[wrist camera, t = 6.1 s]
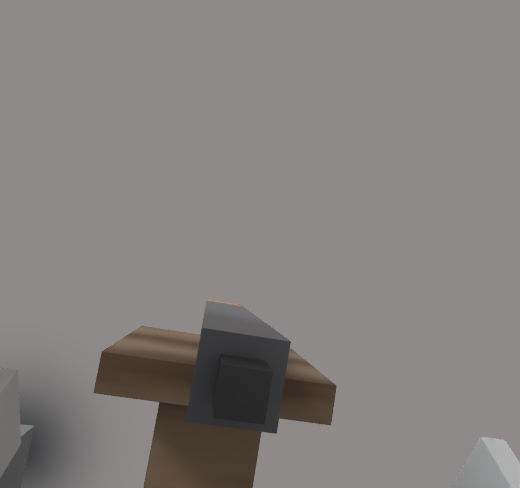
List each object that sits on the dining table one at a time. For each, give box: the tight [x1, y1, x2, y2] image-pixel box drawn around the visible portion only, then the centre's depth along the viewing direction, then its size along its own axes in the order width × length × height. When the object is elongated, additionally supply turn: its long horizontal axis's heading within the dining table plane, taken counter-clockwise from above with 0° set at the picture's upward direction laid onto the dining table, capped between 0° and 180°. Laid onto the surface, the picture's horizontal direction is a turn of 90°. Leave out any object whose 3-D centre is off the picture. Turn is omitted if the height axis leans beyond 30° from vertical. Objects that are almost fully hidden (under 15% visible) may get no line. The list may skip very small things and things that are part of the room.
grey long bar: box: [185, 299, 291, 433], centre depth 23 cm, size 24×3×3 cm, turn 7°
